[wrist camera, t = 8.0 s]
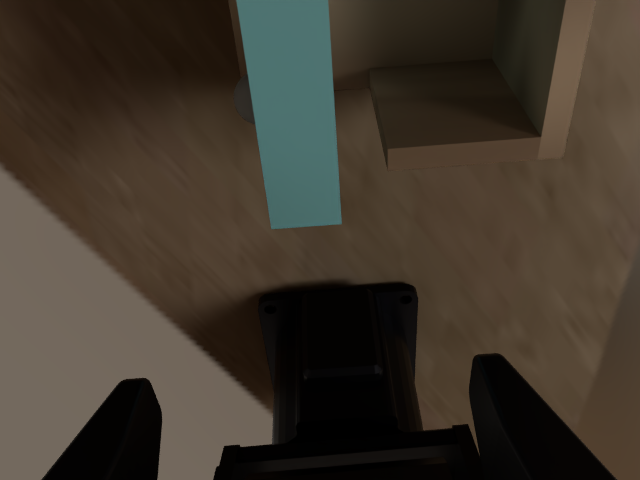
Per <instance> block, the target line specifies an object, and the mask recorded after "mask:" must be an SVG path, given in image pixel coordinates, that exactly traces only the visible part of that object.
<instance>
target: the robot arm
mask: <svg viewBox="0 0 640 480" xmlns="http://www.w3.org/2000/svg"><path fill="white" fill-rule="evenodd" d="M405 295H408V297H402V296H405ZM268 305H273V307H268ZM417 311H418V297H417V292H416V288H415V287H414V286H412V285H410V284H398V285H384V286H371V287H357V288H343V289H329V290H315V291H301V292H288V293H274V294H266V295H264V296H262V297H261V298H260V299H259V306H258V312H259V317H260V322H261V327H262V333H263V338H264V343H265V348H266V353H267V359H268V364H269V369H270V374H271V379H272V384H273V390H274V405H273V435H272V437H273V438H272V444H270V445H259V446H248V447H240V445H230V446H224V448H223V453H222V457H221V461H220V465H219V466H217V467H216V471H215V475H214V479H213V480H617V479H616V478H615V477H614V476H613V475H612V474H611V473H610V472H609V471H608V469H607V468H606V467H605V466H604V465H603V464H602V463H601V462H600V461H599V460H598V459H597V458H596V456H595V455H594V454H593V453H592V452H591V451H590V450H589V449H588V448H587V447H586V445H585V444H584V443H583V442H582V441H581V440H580V439H579V438H578V437H577V436H576V435H575V434H574V432H573V431H572V430H571V429H570V428H569V427H568V426H567V425H566V424H565V423H564V422H563V420H562V419H561V418H560V417H559V416H558V415H557V414H556V413H555V412H554V411H553V410H552V409H551V407H550V406H549V405H548V404H547V403H546V402H545V401H544V400H543V399H542V398H541V397H540V395H539V394H538V393H537V392H536V391H535V390H534V389H533V388H532V387H531V386H530V385H529V384H528V382H527V381H526V380H525V379H524V378H523V377H522V376H521V375H520V374H519V373H518V372H517V370H516V369H515V368H514V367H513V366H512V365H511V364H510V363H509V362H508V361H507V360H506V359H505V357H504V356H502V355H500V354H498V353H492V354H478V355H476V356H475V357H474V359H473V362H472V369H471V377H470V384H469V397H470V404H471V409H472V415H473V420H474V426H475V431H476V437H477V442H478V448H479V453H480V456H479V453H478V450H477V448H476V445H475V442H474V439H473V437H472V434H471V431H470V428H469V426H468V424H463V425H452V428H448V429H437V430H426V431H423V426H422V420H421V415H420V410H419V404H418V399H417V393H416V388H415V383H414V381H415V358H416V334H417ZM161 428H162V412H161V408H160V405H159V403H158V400H157V398H156V395H155V393H154V390H153V388H152V385H151V383H150V381H149V380H148V379H146V378H136V379H126V380H123V381H121V382H120V383H119V384H118V385H117V386H116V387H115V388H114V390H113V391H112V392H111V393H110V395H109V396H108V397H107V398H106V400H105V401H104V402H103V403H102V405H101V406H100V407H99V408H98V410H97V411H96V412H95V413H94V415H93V416H92V417H91V419H90V420H89V421H88V422H87V424H86V425H85V426H84V427H83V429H82V430H81V431H80V432H79V433H78V435H77V436H76V437H75V438H74V440H73V441H72V443H70V445H69V446H68V447H67V448H66V450H65V451H64V452H63V453H62V455H61V456H60V457H59V459H58V460H57V461H56V462H55V464H54V465H53V466H52V467H51V469H50V470H49V471H48V472H47V474H46V475H45V476H44V477H43V479H42V480H157V477H158V465H159V453H160V441H161Z"/></svg>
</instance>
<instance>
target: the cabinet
mask: <svg viewBox="0 0 640 480" xmlns="http://www.w3.org/2000/svg"><path fill="white" fill-rule="evenodd" d="M228 2H229V8H230V14H231V20H232V26H233V33H234V39H235V45H236V51H237V57H238V63H239V70H240V76H241V78H242V77H243V76H244V75H246V74H248V73H247V66H246V60H245V53H244V47H243V40H242V34H241V27H240V21H239V14H238V7H237V1H236V0H228ZM595 4H596V0H328V7H329V23H330V40H331V57H332V73H333V90H334V91H337V90H349V89H362V88H370V91H371V96H372V100H373V105H374V110H375V114H376V119H377V124H378V128H379V133H380V138H381V142H382V147H383V152H384V156H385V161H386V165H387V170H388V171H396V170H410V169H423V168H436V167H449V166H462V165H475V164H488V163H501V162H514V161H527V160H540V159H553V158H563V156H564V151H565V146H566V141H567V137H568V132H569V127H570V122H571V118H572V113H573V108H574V103H575V99H576V94H577V89H578V84H579V80H580V75H581V70H582V65H583V61H584V56H585V51H586V46H587V42H588V37H589V32H590V28H591V23H592V18H593V13H594V9H595Z"/></svg>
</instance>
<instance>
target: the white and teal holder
mask: <svg viewBox="0 0 640 480" xmlns="http://www.w3.org/2000/svg"><path fill="white" fill-rule="evenodd" d="M236 1H237V7H238V14H239V21H240V27H241V34H242V40H243V47H244V53H245V60H246V66H247V73H248V74H246V75H244V76H243V77H242V78H241V79H240V80H239V82H238V83H237V85H236V87H235V90H234V104H235V107H236V109H237V111H238V113H239V114H240V115H241V116H242V118H244V119H245V120H246V121H248V122H250V123H253V124H255V125H256V131H257V138H258V144H259V151H260V157H261V164H262V170H263V177H264V183H265V190H266V196H267V203H268V209H269V216H270V222H271V229H281V228H294V227H308V226H321V225H335V224H342V222H341V205H340V189H339V172H338V156H337V139H336V123H335V106H334V90H333V73H332V57H331V40H330V23H329V7H328V0H236Z"/></svg>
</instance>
